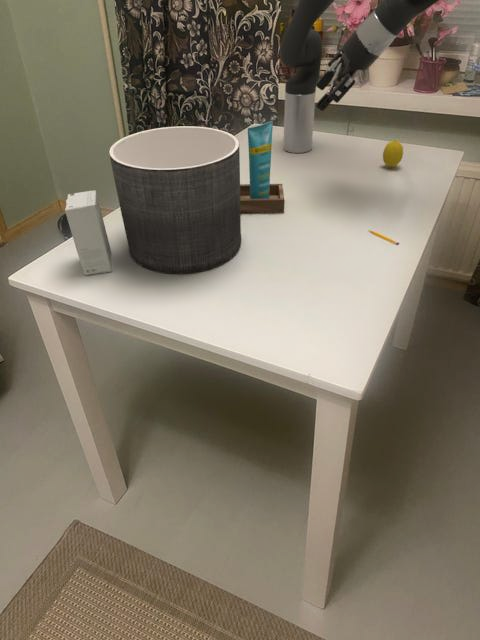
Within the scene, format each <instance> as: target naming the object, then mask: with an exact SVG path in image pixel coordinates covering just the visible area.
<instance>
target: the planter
mask: <svg viewBox="0 0 480 640" xmlns="http://www.w3.org/2000/svg"><path fill="white" fill-rule="evenodd" d="M108 153H109V158H110V164H111V169H112V174H113V178H114V184H115V189H116V195H117V197H118V203H119V204H118V205H119V207H120V208H119V209H120V214H121V217H122V222H123V227H124V232H125V236H126V241H127V246H128V247H127V248H128V252H129V255H130V257H131V258H132V260H133V262H135V263H136V264H137V265H140V266H141V267H142V268H145V269H147V270H150V271H155V272H158V273H162V274H163V273H164V274H176V275H177V274H180V275H181V274H192V273H193V274H194V273H198V272H204V271H206V270H210V269H213V268H214V269H215V268H216V267H219V266H221V265H223V264H225V263H226V262H228V261H230V260H231V259H232V258H234V256H236V254H237V253H238V252H239V250H240V249H241V246H242V233H241V232H242V229H241V221H242V220H241V218H242V217H241V215H242V214H241V209H240V184H241V168H240V167H241V162H240V161H241V159H240V155H241V153H240V141H239V140H238V138H237V137H236V136H234V135H233V134H232V133H229V132H227V131H224V130H221V129H217V128H213V127H212V128H211V127H205V126H195V125H194V126H193V125H191V126H189V125H188V126H187V125H185V126H184V125H183V126H181V125H180V126H166V127H160V128H159V127H157V128H152V129H147V130H142V131H138V132H136V133H132V134H130V135H129V134H128V135H127V136H125V137H122V138H120V139H118V140H117V141H116V142H114V143H113V144H112V145H111V146H110V148H109V150H108Z"/></svg>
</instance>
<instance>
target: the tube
mask: <svg viewBox="0 0 480 640" xmlns="http://www.w3.org/2000/svg"><path fill="white" fill-rule="evenodd" d="M273 126H274V121H273V120H271V121H268V122H265V123H263V124H259V125H256V126H251V127H247V142H248V143H247V145H248V159H249V160H248V162H249V163H248V164H249V165H248V167H249V169H248V170H249V184H250V199H266V198H269V189H270V184H271V166H272V165H271V163H272V162H271V161H272V159H271V158H272V147H273V145H272V143H273Z"/></svg>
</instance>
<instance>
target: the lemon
mask: <svg viewBox="0 0 480 640" xmlns="http://www.w3.org/2000/svg"><path fill="white" fill-rule="evenodd" d="M382 152H383V153H382V161H383V163H384V164H385V165H387V166H388V167H389V168H390V169H391V168H393V167H395V166H397V165H398V164H400V162H402V159H403V155H404V147H403V144H402V143H401V142H399V141H398V140H397V139H394V140H392V141H390V142H388V143H387V144H386V145H385V147H384V149H383V151H382Z"/></svg>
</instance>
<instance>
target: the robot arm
mask: <svg viewBox="0 0 480 640" xmlns="http://www.w3.org/2000/svg"><path fill="white" fill-rule="evenodd" d="M334 1H335V0H298V4H297V5H296V8H295V10H294V13H293V15H292V17H291V19H290V21H289V23H288V25H287V28H286V29H285V33H284V35H283V37H282V41H281V45H280V50H279V51H280V54H279V55H280V60H281V63H282V64H283V66H285V67H286V68H290V69H294V68H295V69H296V68H298V69H297V71H296V72H295V74H293V75H292V77H290V78H289V79H287V80H286V82H285V87H284V88H285V89H284V91H285V92H284V118H283V119H284V120H283V123H284V124H283V150H284V151H286V152H289V153H295V154H301V153H302V154H303V153H308V152H309V151H311V150H312V148H313V136H314V135H313V134H314V122H315V120H314V119H315V105H316V108H317V109H319V110H320V111H321V112H323V111H325V110H326V109H327V108H328V106H329V105H331V103H332V102H333V101H334V102H335V103H337V104H338V103H339V102H340V101H341V100H342V99H343V97H344V96H345V95H346V94H347V93H348V92H349V91H350V90H351V88H352V87H354V85H355V84H356V81H357V80H355V78H353V77H354V76H355V74H356V73H357V71H362V72H366V71H367V70H369V68H370V67H371V66H372V65H373V64H374V63H375V62H376V61H377V59H379V58H380V57H381V55H382V54H383V53H384V52H385V51H386V50H387V49H388V48H389V47H390V45H392V43H393V42H394V40H395V39H396V38H397V37H398V35H400V33H402V31H403V30H404V29H405V28H406V27H407V26H408V24H409V23H410V22H411V21H413V19H414V18H415V17H418V16H419V15H421V14H422V13H424V12H425V11H426V10H428V9H429V8H430V7H432V6H434V5H435V4H436V3H438V2H439V1H440V0H381V2H380V3H379V4H378V5H377V7H375V9H374V10H373V11H372V12H371V13H370V14H368V16H366V17H365V18H364V19H363V21H362V22H361V23H360V24H359V26H357V28H356V29H355V30H354V31H353V32H352V34H351V35H350V36H349V37H348V38H347V40H345V42H344V43H343V45H342V47H341V48H340V49H339V51H338V52H336V54H335V55H334V56H333V57H332V58H331V59H330V61H328V63H327V66H328V67H326V70H325V73H324V74H323V75H322V76H321V77H320V72H321V63H322V56H323V42H322V41H323V40H322V36H321V35H320V32H318V31H317V30H316V29H314V28H313V26H314V25H315V23H316V22H317V20H318V19H319V18H320V17H321V16H322V15H323V14H324V12H325V11H327V9H328V8H330V6H331V5H332V3H334ZM329 84H330V86H329V88H328V90H327V91H326V93H324V95H323V96H321V98H320V99H319V100H318V101H317V103H316V91H317V88H318V89H319V90H321V91H324V90H325V89H326V88H327V86H328V85H329Z"/></svg>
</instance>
